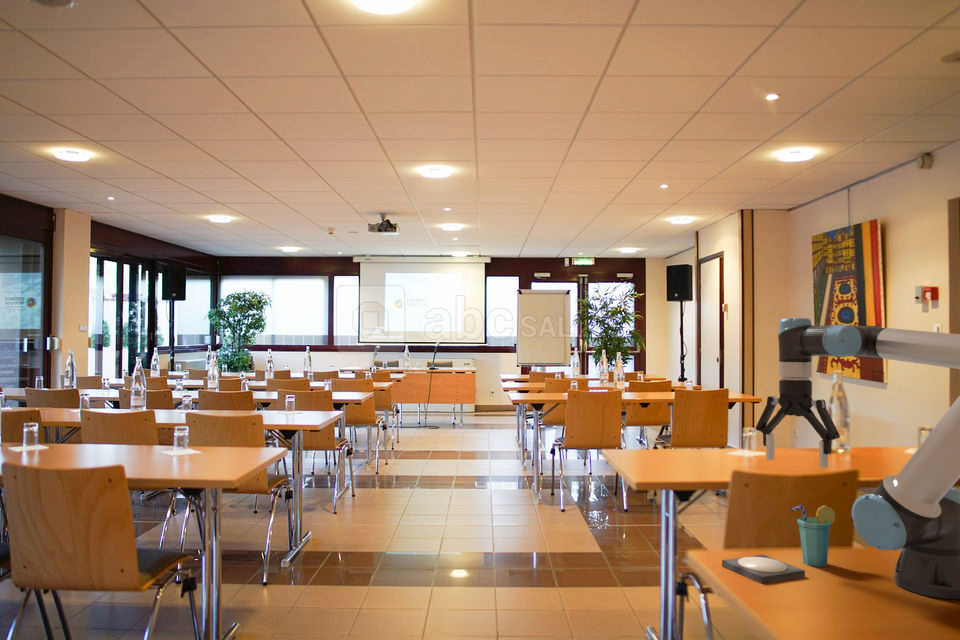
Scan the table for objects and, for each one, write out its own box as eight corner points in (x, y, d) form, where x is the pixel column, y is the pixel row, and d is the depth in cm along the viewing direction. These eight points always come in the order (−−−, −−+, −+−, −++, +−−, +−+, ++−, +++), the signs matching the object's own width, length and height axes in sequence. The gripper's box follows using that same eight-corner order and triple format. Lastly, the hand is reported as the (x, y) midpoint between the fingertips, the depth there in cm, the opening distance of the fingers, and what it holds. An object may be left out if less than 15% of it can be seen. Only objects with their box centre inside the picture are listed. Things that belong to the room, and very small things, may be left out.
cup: (807, 572, 156) (805, 509, 157) (779, 563, 163) (778, 502, 164) (845, 564, 162) (843, 503, 163) (817, 556, 169) (815, 497, 170)
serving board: (805, 576, 153) (804, 569, 153) (761, 583, 149) (761, 575, 149) (763, 560, 165) (763, 553, 165) (722, 566, 161) (721, 558, 161)
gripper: (854, 380, 157) (855, 469, 156) (756, 376, 177) (757, 454, 176) (839, 381, 153) (841, 472, 152) (741, 377, 173) (742, 457, 172)
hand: (796, 463), depth 164 cm, fingers open, 13 cm apart
